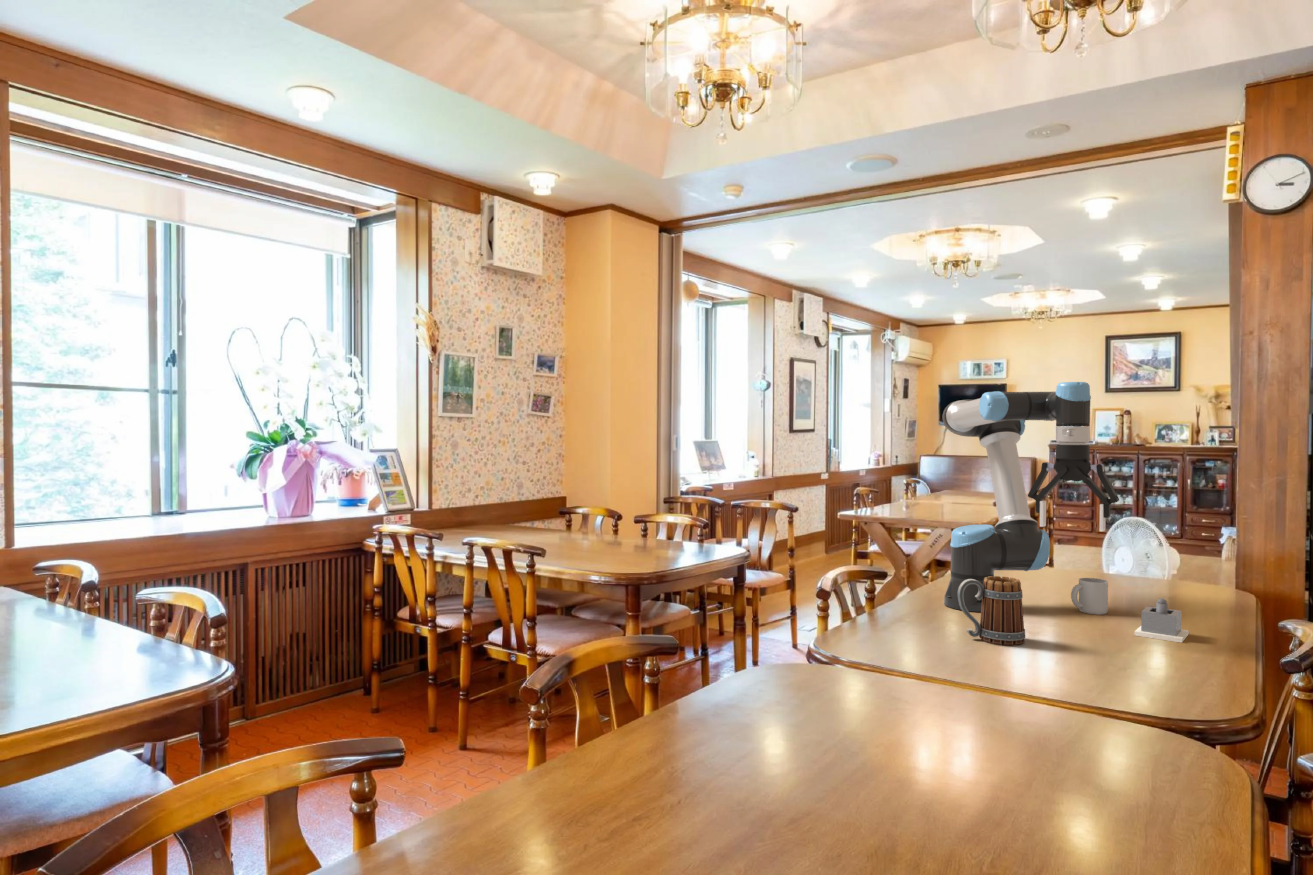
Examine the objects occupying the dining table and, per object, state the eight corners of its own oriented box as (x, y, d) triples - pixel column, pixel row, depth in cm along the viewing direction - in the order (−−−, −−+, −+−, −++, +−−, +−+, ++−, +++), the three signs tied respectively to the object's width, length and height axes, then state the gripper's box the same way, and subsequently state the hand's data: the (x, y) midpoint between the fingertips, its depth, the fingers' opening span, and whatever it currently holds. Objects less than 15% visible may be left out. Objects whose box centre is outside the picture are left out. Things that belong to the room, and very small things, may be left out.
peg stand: (1134, 635, 198) (1134, 598, 198) (1142, 627, 205) (1142, 592, 205) (1181, 642, 191) (1182, 604, 191) (1188, 634, 199) (1188, 597, 199)
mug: (1016, 635, 198) (1016, 575, 198) (1032, 646, 188) (1032, 583, 188) (952, 633, 200) (952, 574, 200) (964, 644, 189) (964, 582, 189)
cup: (1113, 614, 220) (1113, 582, 219) (1079, 615, 219) (1079, 583, 219) (1097, 608, 227) (1097, 577, 227) (1063, 609, 226) (1064, 578, 226)
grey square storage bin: (1141, 631, 198) (1141, 611, 198) (1147, 625, 204) (1147, 606, 203) (1176, 636, 193) (1176, 616, 193) (1181, 630, 199) (1181, 610, 199)
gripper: (1015, 443, 203) (1014, 525, 203) (1126, 445, 186) (1125, 534, 187) (1024, 442, 209) (1024, 522, 209) (1133, 444, 192) (1132, 531, 192)
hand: (1071, 528), depth 198 cm, fingers open, 13 cm apart
